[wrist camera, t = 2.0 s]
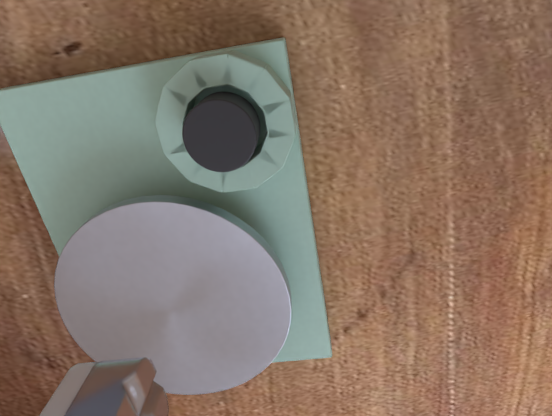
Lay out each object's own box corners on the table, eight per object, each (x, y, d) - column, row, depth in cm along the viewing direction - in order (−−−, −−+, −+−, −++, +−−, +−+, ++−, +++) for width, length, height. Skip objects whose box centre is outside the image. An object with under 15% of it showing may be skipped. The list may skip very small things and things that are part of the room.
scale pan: (24, 212, 20) (13, 220, 20) (269, 177, 19) (268, 184, 18) (107, 391, 25) (101, 402, 25) (306, 374, 24) (306, 386, 23)
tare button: (184, 97, 18) (172, 105, 16) (253, 85, 18) (248, 93, 16) (201, 163, 19) (192, 177, 18) (266, 154, 19) (263, 167, 17)
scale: (4, 87, 21) (-40, 99, 18) (285, 36, 19) (282, 41, 17) (121, 360, 28) (102, 398, 26) (330, 341, 27) (334, 378, 24)
